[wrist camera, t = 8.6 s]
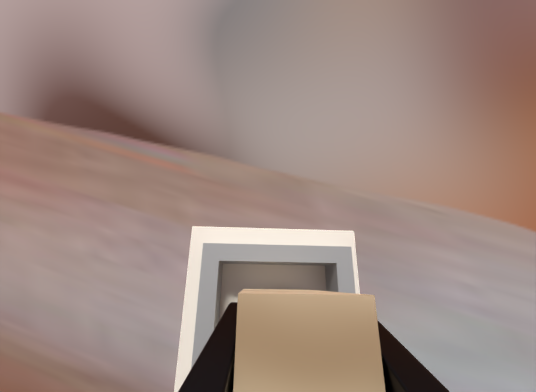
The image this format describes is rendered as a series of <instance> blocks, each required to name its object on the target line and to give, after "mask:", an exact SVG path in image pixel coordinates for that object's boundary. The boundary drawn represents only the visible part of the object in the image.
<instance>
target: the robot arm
mask: <svg viewBox="0 0 536 392" xmlns="http://www.w3.org/2000/svg"><path fill="white" fill-rule="evenodd" d="M237 303H238V302H231V303H229V305H228V306H227V308H226V310H225V312H224V313H223V315H222V317H221V318H220V320H219V322H218V324H217V325H216V327H215V329H214V331H213V332H212V334H211V336H210V337H209V339H208V341H207V343H206V344H205V346H204V348H203V350H202V351H201V353H200V355H199V356H198V358H197V360H196V362H195V363H194V365H193V367H192V368H191V370H190V372H189V374H188V375H187V377H186V379H185V381H184V382H183V384H182V386H181V387H180V389H179V391H178V392H233V386H234V365H235V344H236V324H237ZM377 322H378V331H379V339H380V348H381V357H382V365H383V374H384V383H385V391H386V392H449V391H448V390H447V389H446V388H445V387H444V386H443V385H442V384H441V383H440V382H439V381H438V380H437V379H436V378H435V377H434V376H433V375H432V374H431V373H430V372H429V371H428V370H427V369H426V368H425V367H424V366H423V365H422V364H421V363H420V362H419V361H418V360H417V359H416V358H415V357H414V356H413V355H412V354H411V353H410V352H409V351H408V350H407V349H406V348H405V347H404V346H403V345H402V344H401V343H400V342H399V341H398V340H397V339H396V338H395V337H394V336H393V335H392V334H391V333H390V332H389V331H388V330H387V329H386V328H385V327H384V326H383V325H382V324H381V323H380V322H379V321H378V320H377Z"/></svg>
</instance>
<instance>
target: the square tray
mask: <svg viewBox="0 0 536 392" xmlns="http://www.w3.org/2000/svg"><path fill="white" fill-rule="evenodd" d="M243 289H302V290H319V291H331V292H343V293H355V294H360V290H359V279H358V269H357V258H356V248H355V237H354V231H340V230H305V229H270V228H235V227H200V226H192V234H191V243H190V252H189V261H188V270H187V279H186V288H185V297H184V306H183V315H182V324H181V333H180V342H179V351H178V360H177V369H176V378H175V387H174V392H178V391H179V389H180V387H181V386H182V384H183V382H184V381H185V379H186V377H187V375H188V374H189V372H190V370H191V368H192V367H193V365H194V363H195V362H196V360H197V358H198V356H199V355H200V353H201V351H202V350H203V348H204V346H205V344H206V343H207V341H208V339H209V337H210V336H211V334H212V332H213V331H214V329H215V327H216V325H217V324H218V322H219V320H220V318H221V317H222V315H223V313H224V312H225V310H226V308H227V306H228V305H229V303H231V302H238V293H239V292H241V291H242V290H243Z"/></svg>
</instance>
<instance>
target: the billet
mask: <svg viewBox="0 0 536 392" xmlns="http://www.w3.org/2000/svg"><path fill="white" fill-rule="evenodd" d="M233 392H386V391H385V383H384V374H383V365H382V357H381V348H380V339H379V331H378V322H377V313H376V305H375V296H374V295H366V294H355V293H343V292H331V291H319V290H302V289H243V290H242V291H241V292H239V293H238V303H237V324H236V344H235V365H234V386H233Z"/></svg>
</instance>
